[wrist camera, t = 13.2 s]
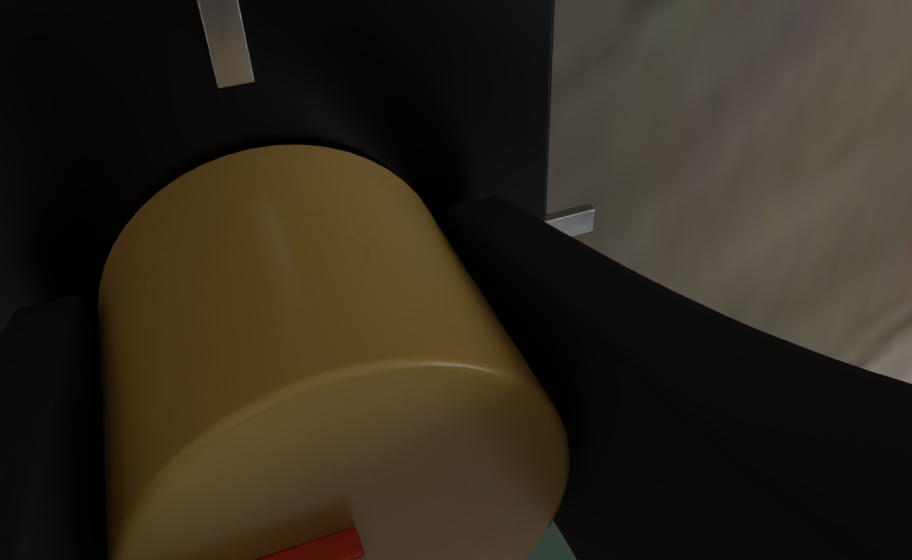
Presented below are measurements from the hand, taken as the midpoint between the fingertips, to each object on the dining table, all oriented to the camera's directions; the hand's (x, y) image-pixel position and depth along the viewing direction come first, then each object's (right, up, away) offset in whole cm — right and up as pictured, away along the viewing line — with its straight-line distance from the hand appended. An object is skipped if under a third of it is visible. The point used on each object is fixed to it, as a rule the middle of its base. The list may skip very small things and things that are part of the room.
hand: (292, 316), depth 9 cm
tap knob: (0, 0, 0) cm, 0 cm away
